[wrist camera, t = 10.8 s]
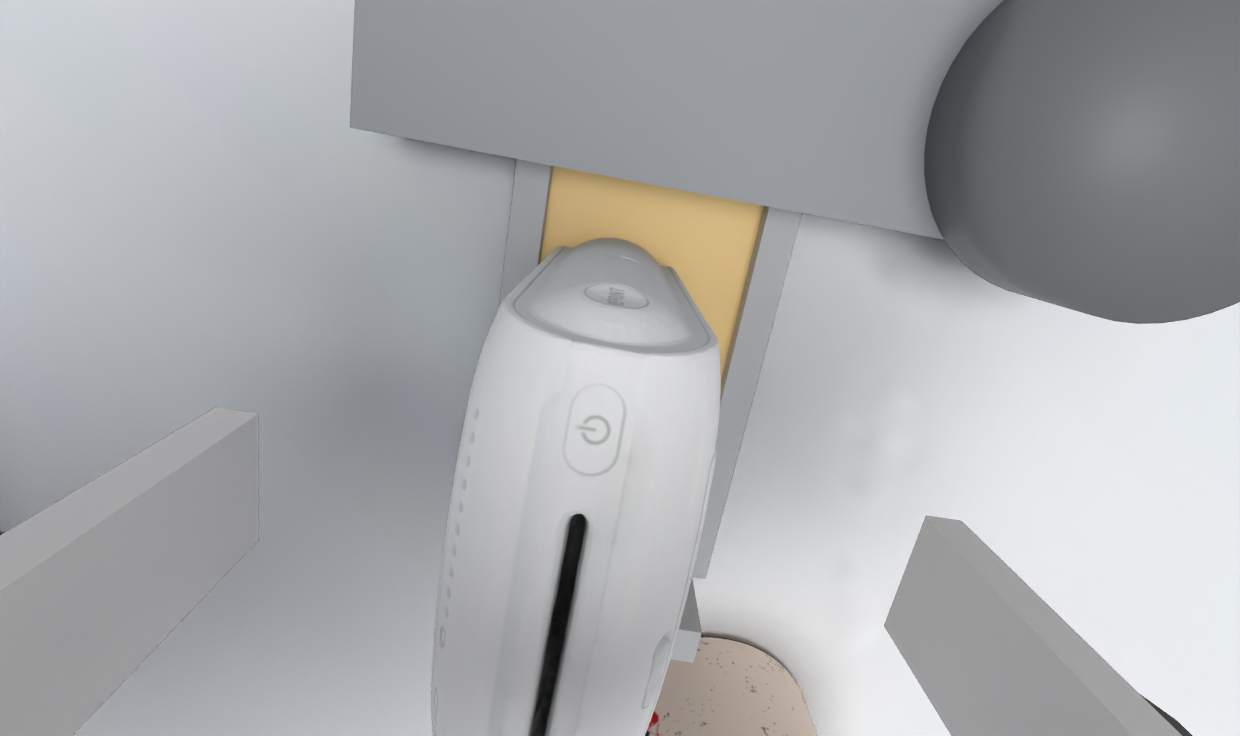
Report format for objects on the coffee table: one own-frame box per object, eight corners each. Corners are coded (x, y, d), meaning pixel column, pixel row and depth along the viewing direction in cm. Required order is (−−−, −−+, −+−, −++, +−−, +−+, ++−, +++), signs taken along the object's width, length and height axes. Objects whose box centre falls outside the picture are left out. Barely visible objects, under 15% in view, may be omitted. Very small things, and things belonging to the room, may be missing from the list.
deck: (375, 535, 22) (279, 674, 16) (418, -137, 16) (289, -338, 10) (984, 629, 24) (1115, 793, 17) (1247, 40, 17) (1603, -39, 11)
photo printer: (551, 220, 18) (426, 297, 7) (687, 247, 19) (798, 366, 7) (508, 509, 22) (370, 910, 10) (625, 529, 22) (628, 943, 10)
